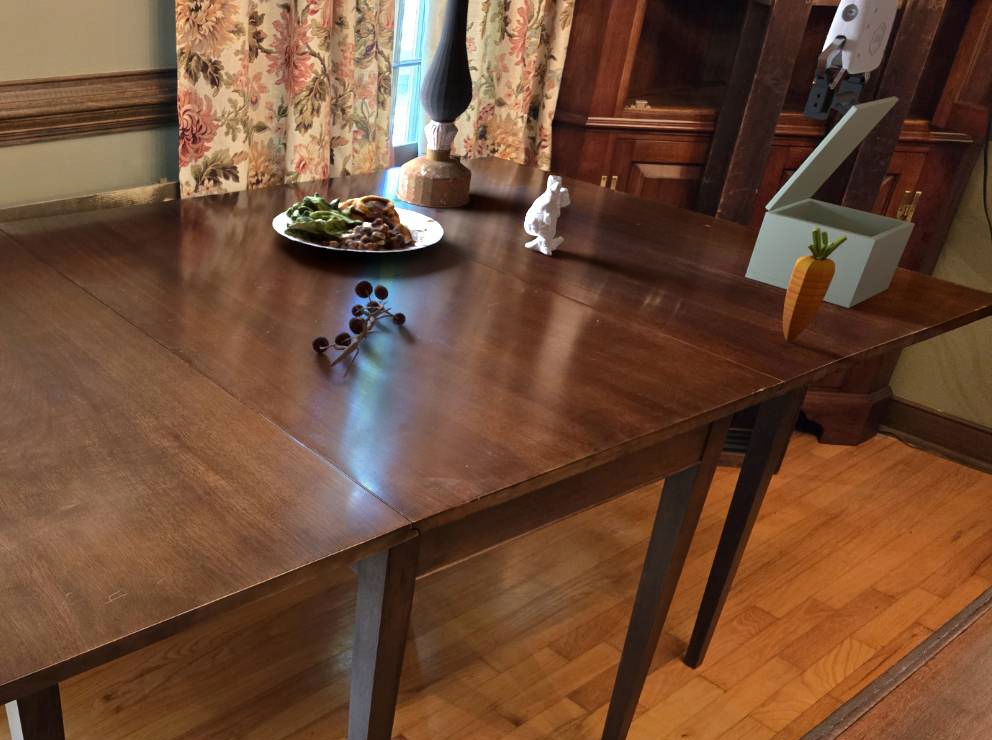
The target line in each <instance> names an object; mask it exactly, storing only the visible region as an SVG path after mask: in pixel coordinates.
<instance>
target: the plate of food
mask: <svg viewBox="0 0 992 740" xmlns="http://www.w3.org/2000/svg"><path fill="white" fill-rule="evenodd" d="M340 201H341V198H340V197H338V198H336V199H332V201H330V202H328V201H326V199H325V198H324V197H321V196H320V194H319V192H315V193H314V196H304V198H303V200H302V202H301V201H299V202H294V203H293V205H292V207H289V208H288V209H287V210H285V211H283V212H281V213H280V214H279V215H277V216H276V217H275V218H273V221H272V227H273V229H274V230H275V231H276V232H277V233H278V234H280V235H282V236H284V237H286V238H287V239H290V240H292V241H294V242H298V243H302V244H306V245H311V246H314V247H318V248H326V249H327V250H329V251H331V250H332V251H351V252H352V251H353V252H363V253H364V252H366V253H393V252H405V251H411V250H419V249H421V248H426V247H427V246H431V245H433V244H436V243H438V242H439V241H440V240H441V239H442V236H443V235H444V229H443V226H441V224H440V223H438V221H436V220H434V219H433V218H432V217H431V218H430V217H428V216H426V215H425V214H421V213H418V212H416V211H412V210H408V209H404V208H399V207H395V203H393V201H391V200H390V199H388V198H386V197H382V196H378V195H372V194H369V195H367V196H362V197H359V198H358V197H356V198H350V199H347V200H346V201H344V202H340Z"/></svg>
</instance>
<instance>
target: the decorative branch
mask: <svg viewBox="0 0 992 740" xmlns="http://www.w3.org/2000/svg"><path fill="white" fill-rule="evenodd" d="M354 292H355V294H356V296H357V297H359V298H361V299H368V300H369V301H367V303H366V305H365V307H364V306H363V305H362V304H360V303H356V304H354V305H353V306H352V307H351V315H352V317H351V318H350V319H349V321H348V328H349V330H350V332H351V333H352V334H354V336H352V337H351V334H350V333H349V332H347V331H340V332H338V333H337V334H336V335H335V337H334V343H331V344H330V342H329V340H328V338H327V337H326V336H325V335H318V336H316V337H314V339H313V340H312V343H311V345H312V349H313V350H314V351H315V352H316V353H318V354H322V353H325V352H326V351H328V349H329V348H331V347H333V348H334V349H335V350H336V351H342V352H340V354H339V355H337V356H336V357H335V359H333V360H332V362H331V363H330V364H329V368H333V367H335V366H336V365H338V364H339V363H340V362H342V361H343V360H345V358H347V357H348V356H350V355H351V354H352V353H354V352H355V351H356V353H355V355H354V356H353V358H352V359H351V361H350V363H349V364H348V367H347V368H346V370H345V372H344V374H343V378H342V379H345V378H346V376H347V375H348V372H349V370H350V368H351V366H352V364H353V363H354V362H355V359H356V358H357V356H358V355H359V352H360V351H359V344H360V343H361V342H362V340H364V346H365V347H367V336H368V335H371V334H374V333H376V332H379V331H380V330H379V329H373V328H374V327H375V324H376V323H377V322H380V321H381V319H384V318H392V322H393V324H394V325H396V326H403V325H404V324H405V323H406V321H407V320H406V315H405V314H404V313H402V312H395V313H394V314H393V313H392V312H389V311H390V310H392V307H389V308H385V305H386V304H387V303H388V300H387V298H388V297H389V290H388V288H387V287H386V286H385V285H383V284H376V285H375V286H374V287H373V285H372V283H371V282H370V281H369V280H366V279H361V280H359V281H358V282H356V284H355V285H354ZM372 294H373V295H374V296H375V297H376V299H377V300H380V301H376V300H372V299H371V296H372ZM385 300H386V301H385ZM383 301H385V302H384V303H382V302H383ZM366 310H367V311H366ZM384 313H385V314H384ZM382 314H383V315H382ZM363 315H364V316H366V317H367V318H364V317H362V316H363ZM380 315H381V316H380Z"/></svg>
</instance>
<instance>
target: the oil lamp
mask: <svg viewBox="0 0 992 740" xmlns="http://www.w3.org/2000/svg"><path fill="white" fill-rule="evenodd" d="M469 4H470V0H446V7H445V13H444V19H443V23H442V28H441V33H440V37H439V41H438V44H437V46H436V49H435V52H434V54H433V57H432V60H431V62H430V65H429V67H428V68H427V71H426V72H425V75H424V77H423V80H422V82H421V86H420V89H419V95H418V96H419V101H420V105H421V108H423V110H424V112H425V113H426V114H427V115H428V117H429V119H430V122H429V123H428V124H427V125H425V127H424V131H425V135H426V139H427V142H428V143H427V146H426V152H422V151H421V152H420V154H421V155H420V156H417V157H415V158H413V159H411V160H409V161H408V162H407V161H406V162H405V163H404V164H403V165H401V167H400V174H399V184H398V190H397V191H396V197H397V198H398V199H399V200H401V201H403V202H405V203H408V204H411V205H415V206H420V207H425V208H426V207H427V208H437V209H438V208H439V209H440V208H441V209H443V208H446V209H447V208H457V207H461V206H464V205H467V204H468V203H469V201H470V196H469V194H470V187H471V183H472V182H471V181H472V171H471V169H470V168H468V166H466V165H464V164H463V163H462V162H461V161H462V158H463V159H465V162H468V160H469V159H468V157H469V152H466V154H465V155H461V154H459V153H451V151H452V144H453V142H454V140H455V138H456V136H457V134H458V132H459V128H458V127H457V126H456V124H455V123H454V122H456V121H457V119H458V118H459V117H460V116H462V115H463V114H464V113H465V112H466V111H467V110H468V108H469V107H470V105H471V103H472V101H473V97H474V95H473V94H474V92H473V89H474V88H473V78H472V75H471V70H470V63H469V57H468V56H469V55H468V47H467V35H468V34H467V32H468V16H469V14H468V13H469Z"/></svg>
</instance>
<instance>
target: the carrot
mask: <svg viewBox="0 0 992 740" xmlns="http://www.w3.org/2000/svg"><path fill="white" fill-rule="evenodd" d="M821 235H822V246H821ZM812 237H813V243H814V245H812V244H809V245H808V248H809V249H810V251H811V252H812V254H813V255H806V256H802V257H800V258H799V259H798V260H797V262H796V264H795V267H794V270H793V273H792V276H791V279H790V282H789V286H788V289H786V294H785V298H784V299H785V300H784V305H783V311H782V332H783V338H784V339H785V341H786V342H787V343H789V342H791V341H793V340H795V339H796V338H797V337H798V336H799V335H800V334H802V333H803V331H804V330H805V329H806V328H807V327H808V326H809V325H810V324H811V322H812V320H813V319H814V317H815V316H816V314H817V313H818V311H819V309H820V307H821V305H822V304H823V302H824V301H823V299H824V297H825V295H826V293H827V291H828V288H829V286H830V283H831V281H832V279H833V276H834V273H835V263H834V261H832V260H831V259H828V258H827V257H828V256H829V255H830V254H831V253H832V252H833V251H834V250H835V249H836V248H837V247H839V246H840V245H841V244H842V243H843V242H845V241H846V240H847V238H846V236H844V235H842V236H841V237H839V238H838V239H837V240H835V242H834V243H833V242H831V243H830V244H828V235H827V232H822V233H821V231H820V228H815V229H814V230H813V231H812Z"/></svg>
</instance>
